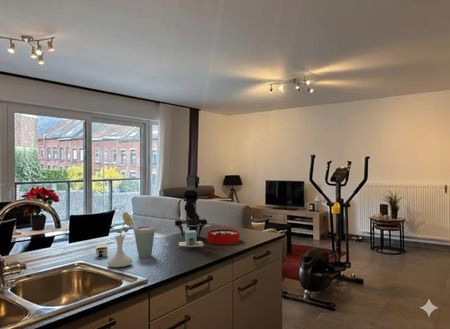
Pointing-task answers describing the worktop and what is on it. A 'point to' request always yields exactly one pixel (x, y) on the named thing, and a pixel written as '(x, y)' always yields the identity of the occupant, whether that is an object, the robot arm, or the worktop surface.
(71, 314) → the worktop surface
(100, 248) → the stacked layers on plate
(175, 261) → the worktop surface
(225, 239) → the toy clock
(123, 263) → the flower in vase
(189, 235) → the block
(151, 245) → the disposable coffee cup
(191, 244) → the cleat board
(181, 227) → the robot arm
